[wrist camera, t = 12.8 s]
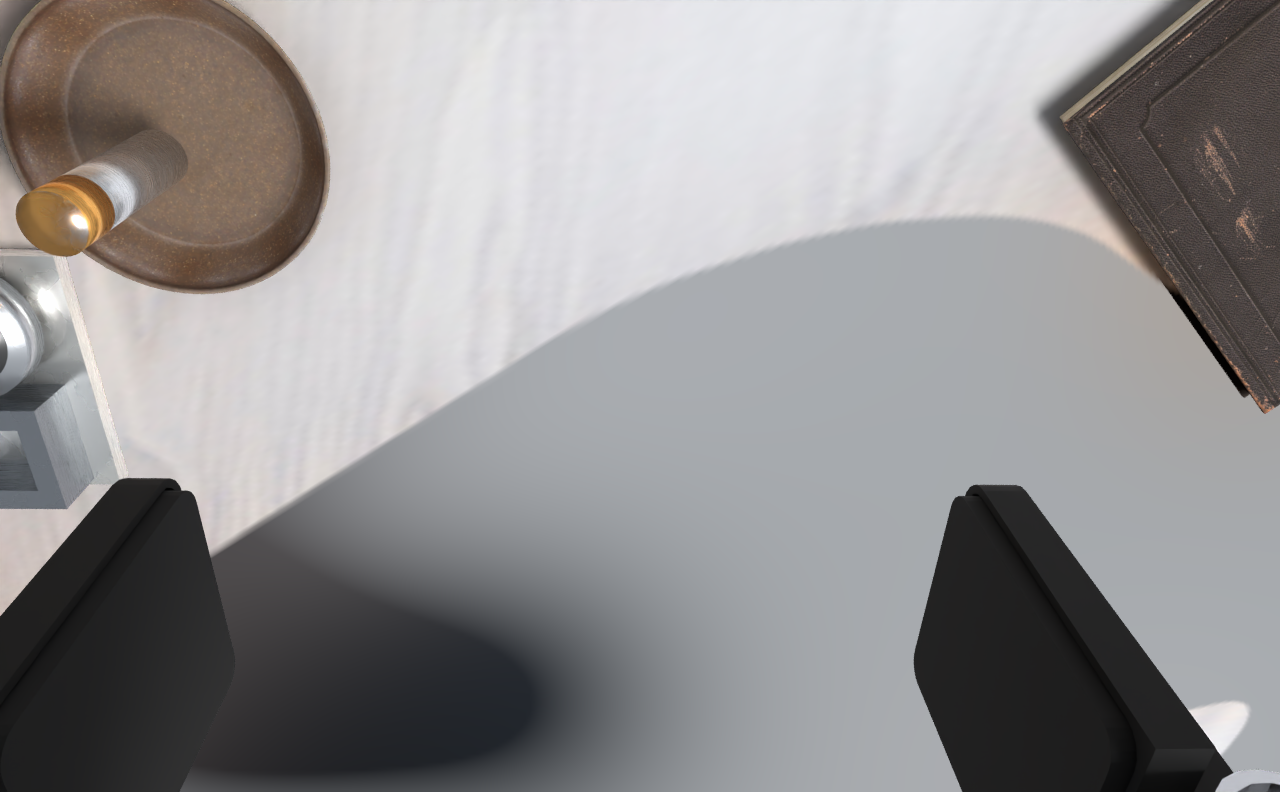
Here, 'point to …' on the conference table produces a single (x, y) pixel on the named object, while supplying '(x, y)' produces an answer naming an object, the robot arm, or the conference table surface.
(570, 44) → the conference table surface
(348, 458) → the conference table surface
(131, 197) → the pin
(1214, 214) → the hardcover book
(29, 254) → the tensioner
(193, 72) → the saucer
